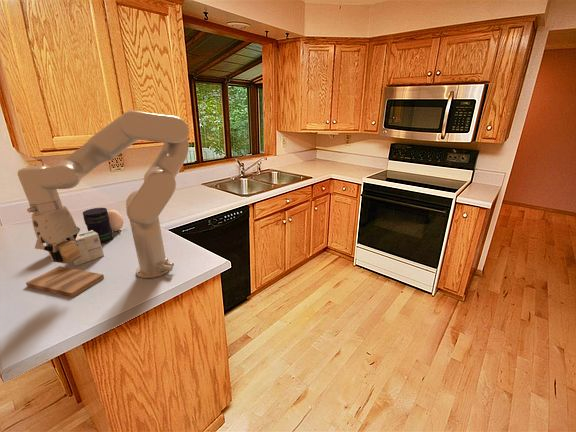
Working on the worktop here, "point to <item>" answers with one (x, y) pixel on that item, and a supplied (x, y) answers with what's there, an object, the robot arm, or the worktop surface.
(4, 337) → the worktop surface
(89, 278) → the board
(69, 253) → the block
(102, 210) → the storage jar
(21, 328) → the worktop surface
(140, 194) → the robot arm
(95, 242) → the light bulb box
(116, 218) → the egg
